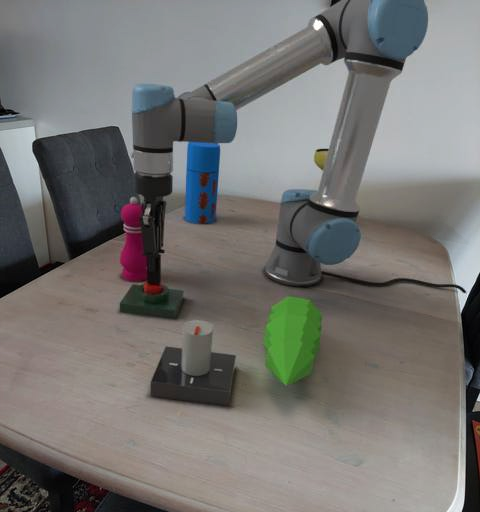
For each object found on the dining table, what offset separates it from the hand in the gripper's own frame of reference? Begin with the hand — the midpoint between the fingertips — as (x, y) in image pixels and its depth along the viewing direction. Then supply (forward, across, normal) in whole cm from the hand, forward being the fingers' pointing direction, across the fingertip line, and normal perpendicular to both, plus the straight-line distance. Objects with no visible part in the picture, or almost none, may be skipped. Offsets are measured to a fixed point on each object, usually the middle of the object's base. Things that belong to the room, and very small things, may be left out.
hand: (153, 282), depth 103 cm
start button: (+2, 0, 0) cm, 2 cm away
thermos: (+6, -67, 0) cm, 67 cm away
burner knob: (+3, +26, +14) cm, 30 cm away
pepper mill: (+6, -14, -8) cm, 17 cm away
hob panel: (+6, +26, +14) cm, 30 cm away
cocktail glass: (+7, -80, +46) cm, 92 cm away
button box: (+6, 0, 0) cm, 6 cm away
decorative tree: (+6, +17, +30) cm, 35 cm away
